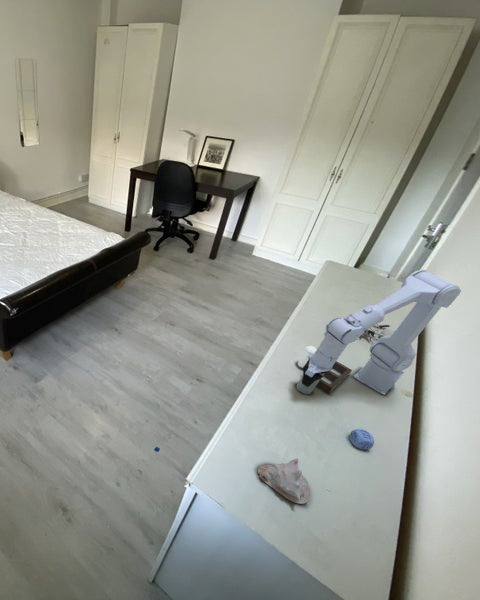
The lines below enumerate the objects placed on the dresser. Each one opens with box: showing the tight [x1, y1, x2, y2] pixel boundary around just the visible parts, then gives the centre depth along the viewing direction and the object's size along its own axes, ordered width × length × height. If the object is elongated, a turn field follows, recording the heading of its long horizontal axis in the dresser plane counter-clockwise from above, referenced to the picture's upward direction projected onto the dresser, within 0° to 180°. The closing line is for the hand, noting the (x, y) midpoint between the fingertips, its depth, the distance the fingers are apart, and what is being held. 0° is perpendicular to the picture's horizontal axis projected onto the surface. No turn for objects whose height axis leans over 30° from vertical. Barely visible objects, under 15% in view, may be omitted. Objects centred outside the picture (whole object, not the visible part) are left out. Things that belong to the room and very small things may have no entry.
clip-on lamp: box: [361, 323, 396, 342], centre depth 135 cm, size 12×6×18 cm
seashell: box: [257, 457, 310, 505], centre depth 81 cm, size 10×12×9 cm
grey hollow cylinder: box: [296, 372, 325, 395], centre depth 108 cm, size 4×4×10 cm
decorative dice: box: [349, 428, 375, 450], centre depth 94 cm, size 4×4×4 cm
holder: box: [316, 360, 353, 395], centre depth 115 cm, size 8×16×3 cm, turn 124°
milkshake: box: [297, 345, 318, 370], centre depth 117 cm, size 4×5×10 cm
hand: (308, 381), depth 109 cm, fingers closed on grey hollow cylinder, 4 cm apart
